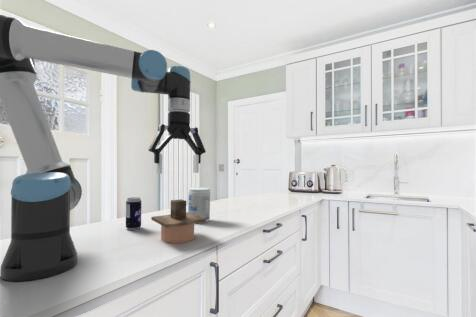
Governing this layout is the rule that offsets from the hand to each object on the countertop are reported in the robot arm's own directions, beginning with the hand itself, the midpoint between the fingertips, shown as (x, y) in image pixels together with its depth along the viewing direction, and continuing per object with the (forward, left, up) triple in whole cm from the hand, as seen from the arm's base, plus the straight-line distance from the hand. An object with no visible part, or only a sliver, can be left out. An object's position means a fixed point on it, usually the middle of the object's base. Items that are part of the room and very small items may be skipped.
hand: (178, 173), depth 91 cm
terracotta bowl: (0, 0, -23) cm, 23 cm away
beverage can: (-9, +22, -23) cm, 33 cm away
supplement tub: (+18, +18, -23) cm, 34 cm away
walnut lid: (0, 0, -17) cm, 17 cm away
